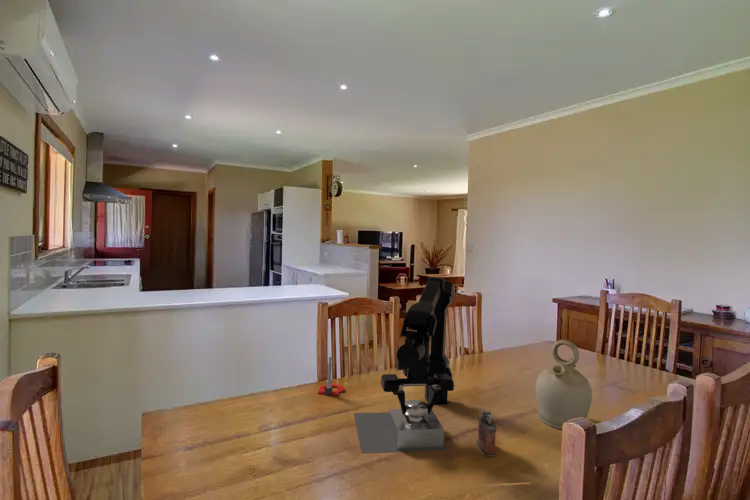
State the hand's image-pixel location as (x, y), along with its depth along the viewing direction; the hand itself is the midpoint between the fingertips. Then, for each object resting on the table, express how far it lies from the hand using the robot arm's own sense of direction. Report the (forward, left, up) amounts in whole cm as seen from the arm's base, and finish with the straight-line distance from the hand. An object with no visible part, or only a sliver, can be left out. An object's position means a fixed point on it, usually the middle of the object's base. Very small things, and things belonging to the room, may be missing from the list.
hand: (415, 413), depth 109 cm
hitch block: (0, 0, -6) cm, 6 cm away
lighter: (-17, +7, -7) cm, 20 cm away
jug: (-47, -7, -7) cm, 48 cm away
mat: (+4, -4, -7) cm, 9 cm away
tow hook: (+21, -33, -7) cm, 40 cm away
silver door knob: (0, 0, -4) cm, 4 cm away
